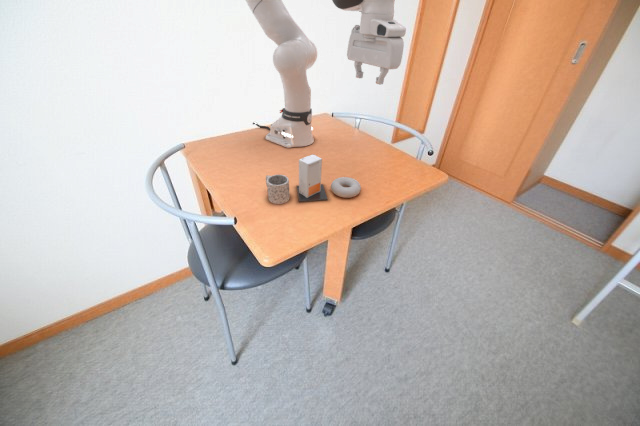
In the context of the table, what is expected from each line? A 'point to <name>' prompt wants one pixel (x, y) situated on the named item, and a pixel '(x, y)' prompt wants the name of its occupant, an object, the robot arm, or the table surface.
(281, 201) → the mug
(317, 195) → the slate coaster
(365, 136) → the table surface
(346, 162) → the table surface
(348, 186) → the donut
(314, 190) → the cosmetic box
